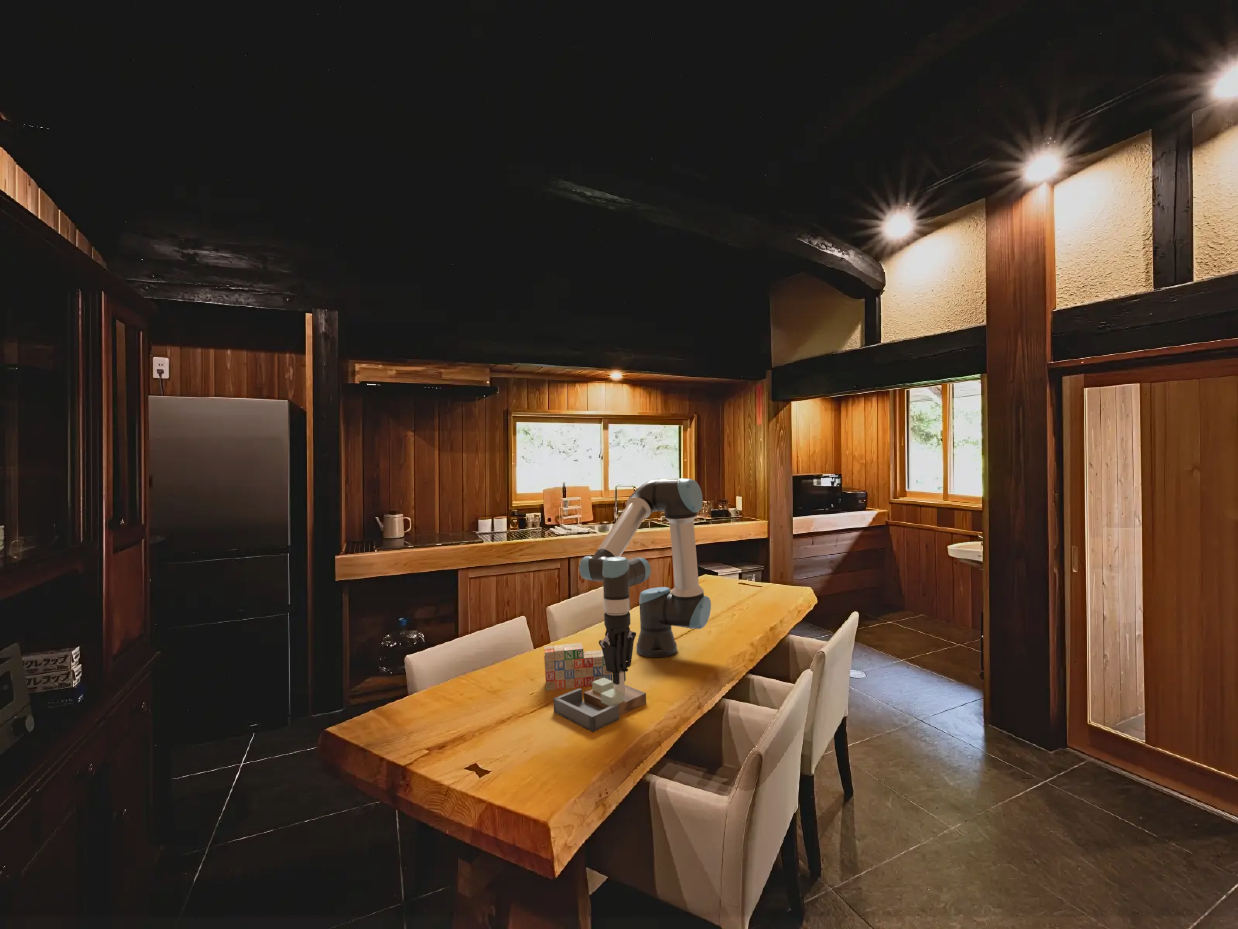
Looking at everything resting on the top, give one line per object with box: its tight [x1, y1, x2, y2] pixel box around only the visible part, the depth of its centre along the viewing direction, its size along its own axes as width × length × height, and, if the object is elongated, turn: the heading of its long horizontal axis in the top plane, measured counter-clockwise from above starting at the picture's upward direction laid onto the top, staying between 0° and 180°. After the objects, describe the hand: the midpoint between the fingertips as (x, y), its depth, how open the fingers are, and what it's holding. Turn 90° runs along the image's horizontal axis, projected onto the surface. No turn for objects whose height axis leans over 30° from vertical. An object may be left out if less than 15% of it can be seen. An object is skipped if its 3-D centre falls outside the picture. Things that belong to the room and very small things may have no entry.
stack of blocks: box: [543, 642, 613, 691], centre depth 176 cm, size 21×6×12 cm, turn 99°
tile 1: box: [591, 678, 614, 694], centre depth 163 cm, size 4×4×2 cm
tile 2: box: [601, 689, 623, 706], centre depth 155 cm, size 4×4×2 cm
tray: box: [552, 687, 621, 733], centre depth 153 cm, size 10×17×4 cm, turn 43°
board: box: [583, 684, 647, 717], centre depth 161 cm, size 12×14×3 cm
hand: (619, 694), depth 157 cm, fingers closed
